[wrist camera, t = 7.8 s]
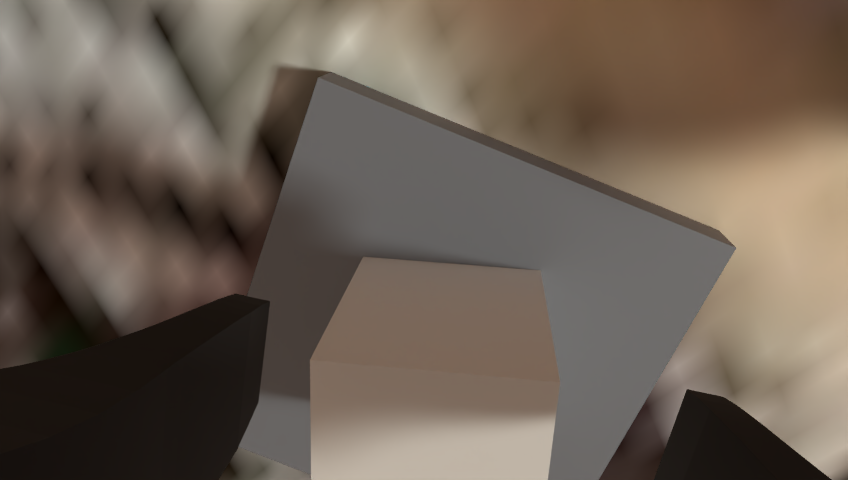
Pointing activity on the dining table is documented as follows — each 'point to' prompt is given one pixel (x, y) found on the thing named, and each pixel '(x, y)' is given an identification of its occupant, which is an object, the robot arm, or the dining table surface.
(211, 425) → the robot arm
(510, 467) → the block
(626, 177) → the dining table surface
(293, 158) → the stub plate
